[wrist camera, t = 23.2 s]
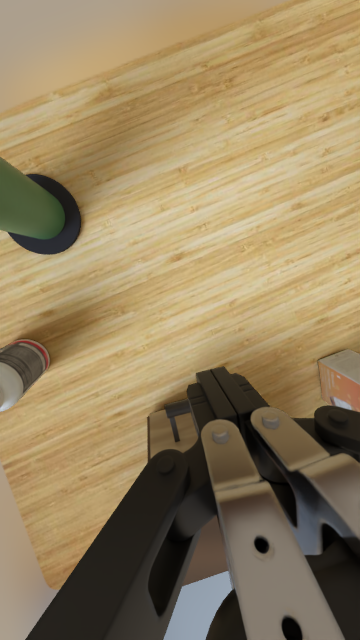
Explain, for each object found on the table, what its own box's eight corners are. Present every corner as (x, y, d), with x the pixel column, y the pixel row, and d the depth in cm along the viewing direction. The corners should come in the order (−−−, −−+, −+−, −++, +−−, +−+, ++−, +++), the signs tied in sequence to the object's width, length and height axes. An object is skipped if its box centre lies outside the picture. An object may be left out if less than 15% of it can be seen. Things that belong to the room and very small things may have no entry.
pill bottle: (15, 330, 26) (-57, 367, 17) (58, 349, 28) (13, 393, 18) (-3, 366, 27) (-81, 420, 18) (40, 383, 29) (-12, 441, 19)
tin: (25, 243, 24) (-106, 221, 11) (7, 193, 23) (-165, 106, 10) (71, 235, 24) (-7, 204, 12) (56, 185, 23) (-50, 93, 11)
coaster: (19, 260, 25) (16, 260, 24) (-11, 182, 22) (-15, 180, 22) (90, 247, 25) (88, 247, 25) (67, 170, 23) (66, 168, 23)
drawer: (141, 383, 30) (139, 431, 21) (228, 362, 31) (258, 399, 22) (171, 491, 35) (178, 563, 27) (243, 470, 37) (272, 532, 28)
